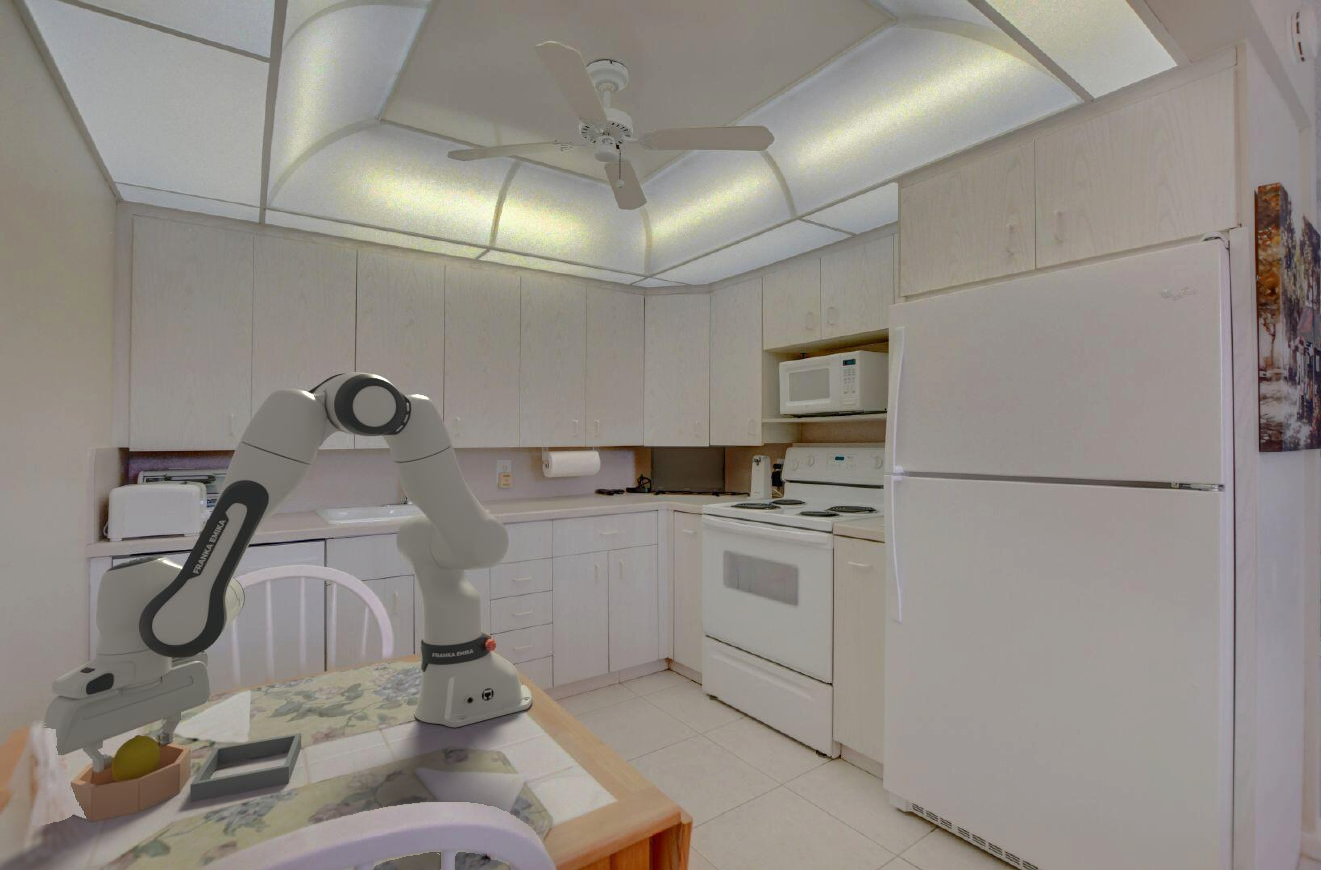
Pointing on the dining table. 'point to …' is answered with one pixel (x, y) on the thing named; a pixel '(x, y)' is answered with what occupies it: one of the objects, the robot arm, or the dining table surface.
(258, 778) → the tray
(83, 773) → the bowl
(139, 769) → the lemon
